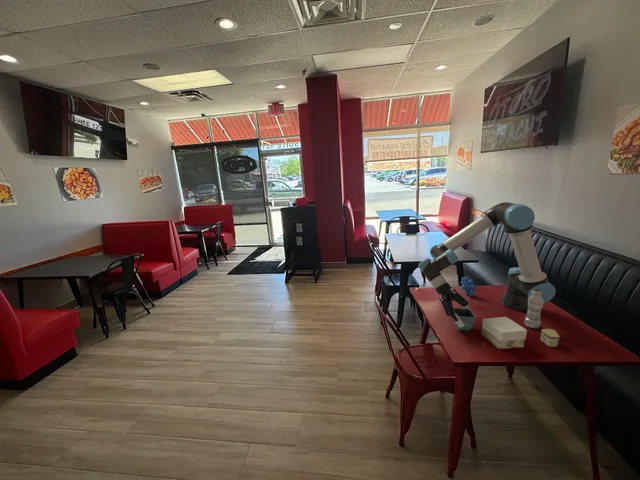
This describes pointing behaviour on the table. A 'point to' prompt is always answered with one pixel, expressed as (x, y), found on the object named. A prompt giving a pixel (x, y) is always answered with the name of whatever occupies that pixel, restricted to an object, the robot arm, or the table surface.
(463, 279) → the grapes
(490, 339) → the bottom slab
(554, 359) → the table surface
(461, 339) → the table surface
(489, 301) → the table surface
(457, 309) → the flower pot
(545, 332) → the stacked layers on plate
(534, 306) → the plastic bottle
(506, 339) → the top slab
